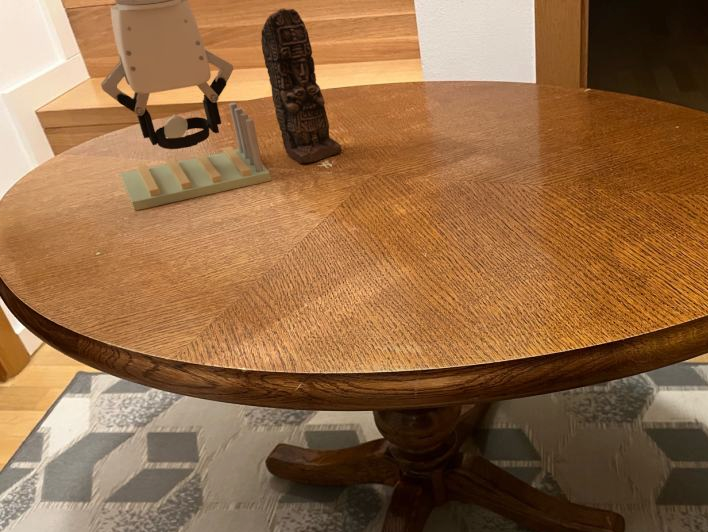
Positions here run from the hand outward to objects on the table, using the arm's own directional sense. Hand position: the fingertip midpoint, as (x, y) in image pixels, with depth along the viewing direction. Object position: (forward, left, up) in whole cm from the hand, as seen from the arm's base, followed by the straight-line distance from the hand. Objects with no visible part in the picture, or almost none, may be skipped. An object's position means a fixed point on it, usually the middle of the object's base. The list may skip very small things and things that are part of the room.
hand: (184, 135), depth 98 cm
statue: (+17, +1, -7) cm, 18 cm away
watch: (0, 0, -1) cm, 1 cm away
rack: (0, 0, -6) cm, 6 cm away
